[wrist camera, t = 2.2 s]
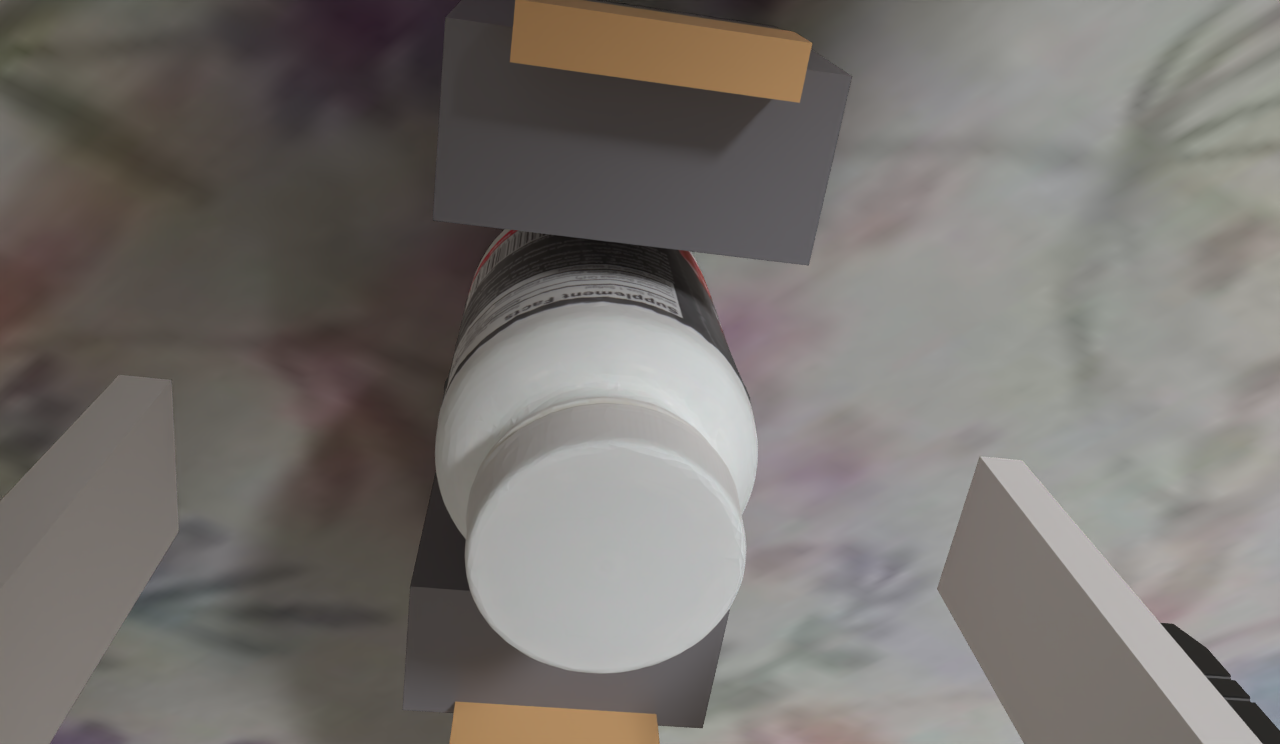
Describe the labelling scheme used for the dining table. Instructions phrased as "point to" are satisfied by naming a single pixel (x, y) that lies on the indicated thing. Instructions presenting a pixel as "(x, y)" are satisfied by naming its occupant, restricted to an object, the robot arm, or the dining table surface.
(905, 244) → the dining table surface
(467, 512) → the pill bottle
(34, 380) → the dining table surface
